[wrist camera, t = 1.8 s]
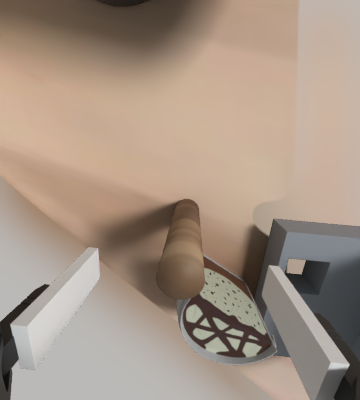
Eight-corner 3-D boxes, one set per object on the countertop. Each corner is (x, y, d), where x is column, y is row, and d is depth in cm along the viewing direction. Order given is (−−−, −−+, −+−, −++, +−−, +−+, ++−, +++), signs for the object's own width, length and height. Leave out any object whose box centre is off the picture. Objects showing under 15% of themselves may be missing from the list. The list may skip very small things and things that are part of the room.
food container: (165, 272, 30) (152, 333, 20) (187, 244, 28) (185, 296, 19) (227, 310, 31) (243, 384, 22) (252, 285, 29) (281, 354, 20)
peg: (175, 198, 26) (157, 256, 13) (200, 200, 26) (207, 261, 13) (173, 220, 27) (155, 296, 14) (197, 222, 27) (202, 302, 14)
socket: (273, 218, 26) (391, 330, 11) (378, 228, 25) (666, 361, 10) (247, 327, 32) (298, 501, 16) (332, 337, 31) (468, 527, 16)
